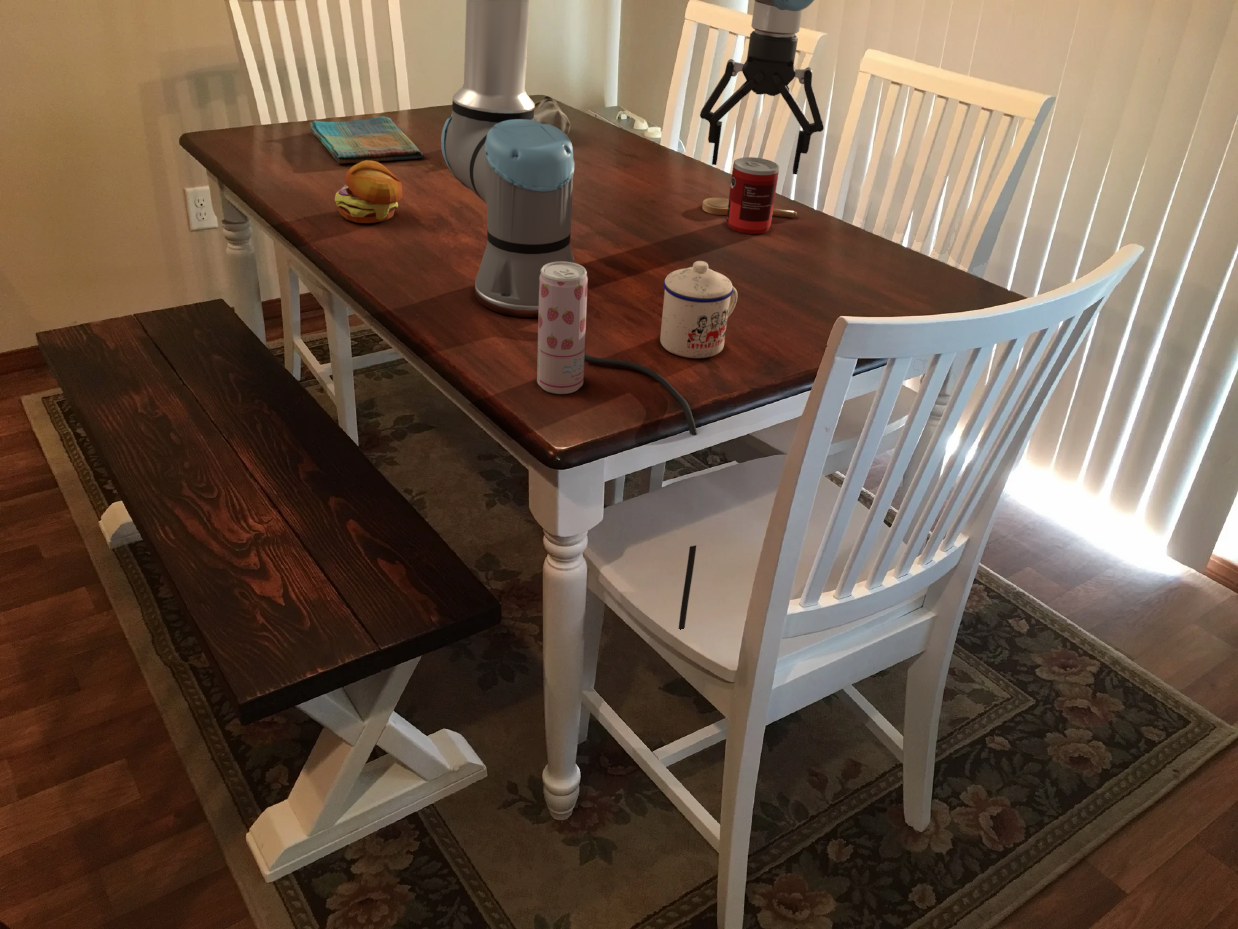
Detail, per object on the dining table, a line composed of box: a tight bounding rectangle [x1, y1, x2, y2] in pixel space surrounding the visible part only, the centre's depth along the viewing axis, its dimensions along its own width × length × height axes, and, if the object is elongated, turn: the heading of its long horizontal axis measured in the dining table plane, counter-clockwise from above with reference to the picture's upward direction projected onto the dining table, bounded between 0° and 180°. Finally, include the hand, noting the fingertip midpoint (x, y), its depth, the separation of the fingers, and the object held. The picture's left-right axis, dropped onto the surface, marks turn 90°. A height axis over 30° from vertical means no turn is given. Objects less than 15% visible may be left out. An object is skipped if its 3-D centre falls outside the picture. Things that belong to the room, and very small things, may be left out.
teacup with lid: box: [659, 260, 739, 359], centre depth 131 cm, size 12×9×12 cm
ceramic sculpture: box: [534, 95, 572, 137], centre depth 210 cm, size 11×9×15 cm
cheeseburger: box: [334, 160, 403, 224], centre depth 164 cm, size 10×11×10 cm
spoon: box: [701, 197, 798, 219], centre depth 179 cm, size 17×6×1 cm, turn 82°
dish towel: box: [309, 115, 424, 165], centre depth 198 cm, size 17×23×2 cm
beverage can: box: [536, 261, 589, 395], centre depth 118 cm, size 6×6×15 cm
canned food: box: [726, 156, 780, 235], centre depth 170 cm, size 8×8×11 cm
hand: (754, 167), depth 167 cm, fingers open, 13 cm apart
